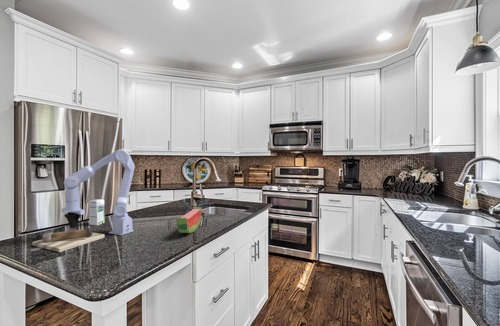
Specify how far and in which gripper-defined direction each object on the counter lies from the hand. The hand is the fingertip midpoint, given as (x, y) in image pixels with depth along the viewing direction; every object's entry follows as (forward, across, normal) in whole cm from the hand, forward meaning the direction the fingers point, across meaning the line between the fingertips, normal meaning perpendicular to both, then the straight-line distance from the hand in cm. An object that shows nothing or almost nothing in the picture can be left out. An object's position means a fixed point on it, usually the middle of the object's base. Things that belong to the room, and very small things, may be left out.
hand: (73, 227), depth 118 cm
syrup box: (+6, -14, +22) cm, 26 cm away
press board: (+5, +3, -3) cm, 7 cm away
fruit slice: (+6, +46, +32) cm, 56 cm away
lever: (+3, +4, -5) cm, 7 cm away
